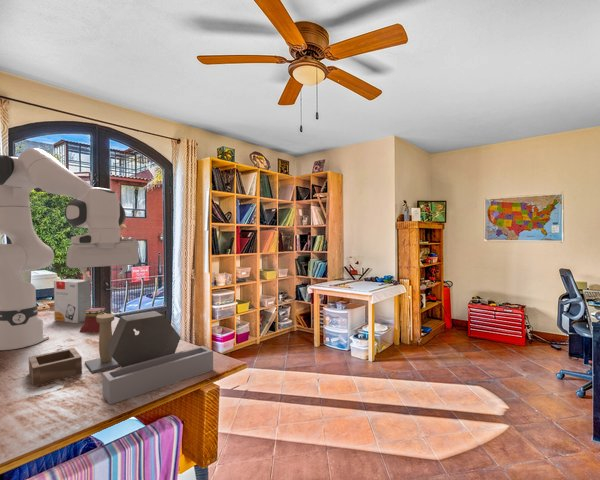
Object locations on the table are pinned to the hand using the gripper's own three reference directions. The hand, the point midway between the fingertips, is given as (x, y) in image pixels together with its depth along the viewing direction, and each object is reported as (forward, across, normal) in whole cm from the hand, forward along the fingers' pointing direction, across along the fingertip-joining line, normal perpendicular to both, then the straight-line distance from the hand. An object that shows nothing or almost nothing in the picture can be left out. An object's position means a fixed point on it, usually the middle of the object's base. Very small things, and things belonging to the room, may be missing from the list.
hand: (104, 280), depth 105 cm
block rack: (+27, -8, +26) cm, 39 cm away
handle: (+27, 0, 0) cm, 27 cm away
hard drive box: (+28, -3, -73) cm, 78 cm away
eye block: (+28, +13, -3) cm, 31 cm away
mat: (+28, 0, 0) cm, 28 cm away
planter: (+28, -7, +15) cm, 32 cm away
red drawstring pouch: (+28, -7, -47) cm, 55 cm away
